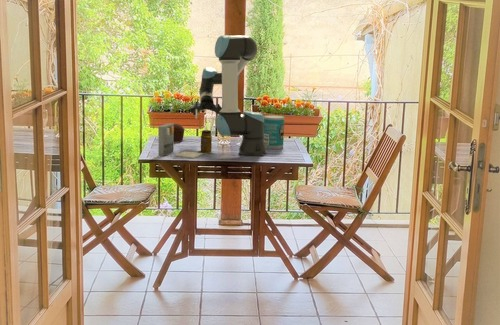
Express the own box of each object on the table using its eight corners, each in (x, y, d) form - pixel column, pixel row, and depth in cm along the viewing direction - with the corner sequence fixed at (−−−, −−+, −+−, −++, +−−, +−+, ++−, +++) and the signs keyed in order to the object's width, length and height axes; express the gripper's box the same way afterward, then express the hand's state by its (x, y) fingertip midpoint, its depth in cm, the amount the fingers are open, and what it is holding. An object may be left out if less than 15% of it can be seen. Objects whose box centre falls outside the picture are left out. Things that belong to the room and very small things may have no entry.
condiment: (214, 152, 403) (215, 130, 400) (205, 154, 396) (205, 132, 394) (204, 150, 407) (204, 129, 405) (194, 152, 400) (195, 131, 398)
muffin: (162, 139, 435) (162, 123, 433) (178, 138, 442) (178, 122, 440) (172, 142, 426) (172, 126, 424) (188, 141, 432) (188, 124, 430)
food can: (286, 148, 419) (287, 117, 415) (267, 149, 415) (268, 118, 411) (278, 144, 430) (279, 114, 426) (259, 145, 426) (260, 115, 422)
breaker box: (175, 152, 398) (175, 123, 395) (165, 156, 387) (165, 126, 384) (168, 151, 399) (168, 123, 396) (158, 155, 388) (158, 126, 385)
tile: (202, 154, 395) (202, 153, 395) (194, 157, 385) (194, 156, 385) (184, 152, 399) (184, 151, 399) (175, 155, 389) (175, 154, 389)
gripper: (227, 108, 423) (229, 126, 405) (184, 104, 418) (185, 121, 400) (228, 97, 419) (231, 114, 401) (186, 92, 415) (187, 109, 397)
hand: (208, 118), depth 401 cm, fingers open, 13 cm apart
